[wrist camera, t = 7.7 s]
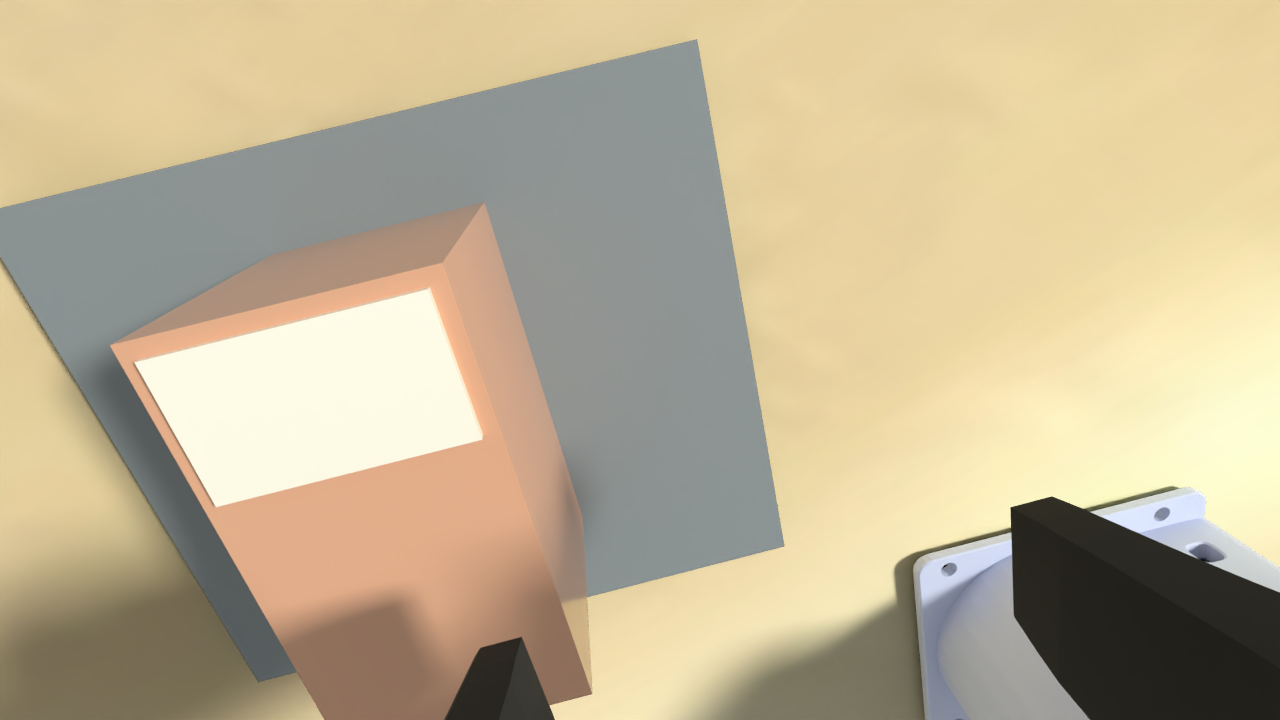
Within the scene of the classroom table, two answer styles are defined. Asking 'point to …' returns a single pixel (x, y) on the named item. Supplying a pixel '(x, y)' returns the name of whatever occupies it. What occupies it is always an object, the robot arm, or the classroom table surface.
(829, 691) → the classroom table surface
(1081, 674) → the robot arm
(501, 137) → the mat
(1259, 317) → the classroom table surface
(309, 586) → the brick
